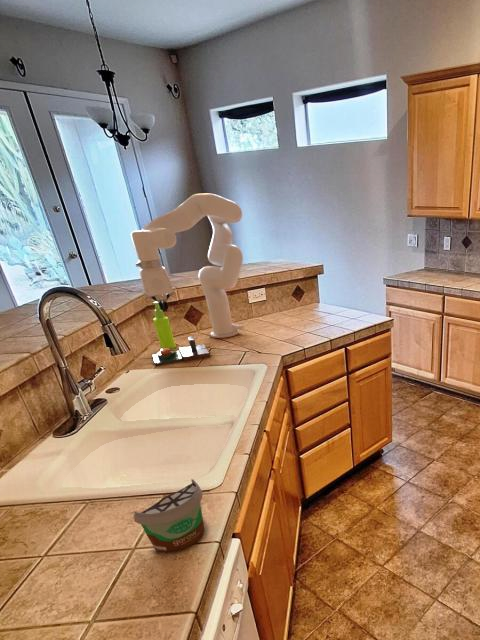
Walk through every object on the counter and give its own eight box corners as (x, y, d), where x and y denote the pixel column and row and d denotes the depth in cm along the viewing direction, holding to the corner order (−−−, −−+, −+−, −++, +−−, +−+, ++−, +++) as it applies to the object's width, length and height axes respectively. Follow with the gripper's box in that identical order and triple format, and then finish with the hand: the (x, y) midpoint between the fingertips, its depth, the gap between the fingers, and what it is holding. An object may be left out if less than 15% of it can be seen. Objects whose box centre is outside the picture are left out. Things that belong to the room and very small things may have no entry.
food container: (167, 568, 76) (151, 524, 71) (147, 555, 79) (131, 512, 74) (225, 527, 85) (214, 487, 81) (205, 517, 88) (193, 477, 84)
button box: (179, 353, 184) (177, 346, 183) (182, 361, 175) (180, 354, 173) (153, 357, 179) (151, 350, 178) (155, 365, 170) (153, 358, 169)
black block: (197, 351, 180) (194, 339, 177) (192, 352, 179) (189, 340, 176) (195, 348, 183) (192, 336, 181) (190, 349, 182) (187, 337, 180)
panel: (204, 348, 190) (203, 343, 188) (210, 357, 179) (209, 352, 178) (180, 352, 185) (178, 347, 184) (184, 361, 174) (183, 356, 173)
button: (170, 351, 178) (169, 347, 177) (171, 353, 175) (170, 349, 175) (160, 353, 177) (159, 349, 176) (161, 355, 174) (160, 351, 173)
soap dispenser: (174, 349, 189) (161, 303, 180) (158, 349, 189) (145, 303, 180) (180, 345, 194) (168, 300, 185) (165, 345, 195) (153, 300, 185)
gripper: (130, 268, 162) (145, 316, 171) (173, 263, 169) (185, 310, 178) (129, 265, 167) (144, 312, 177) (170, 261, 174) (183, 306, 183)
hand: (165, 311), depth 177 cm, fingers closed
